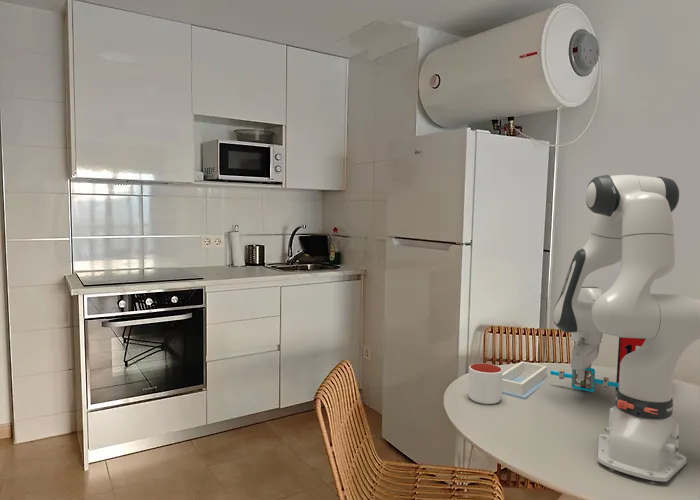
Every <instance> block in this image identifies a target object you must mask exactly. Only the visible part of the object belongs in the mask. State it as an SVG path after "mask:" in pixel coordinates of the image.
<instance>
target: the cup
mask: <svg viewBox="0 0 700 500" xmlns="http://www.w3.org/2000/svg"><path fill="white" fill-rule="evenodd" d="M503 373H504V372H503V368H502V367H500V366H498V365H495V364H491V363H479V362H478V363H477V362H476V363H473V364H470V365H469V367H468V387H467V389H468V390H467V395H468V397H469V399H470V400H471V401H473V402H475V403H478V404H483V405H495V404H497V403H500V401H501V399H502V397H503V396H502V395H503V394H502V374H503Z"/></svg>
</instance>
